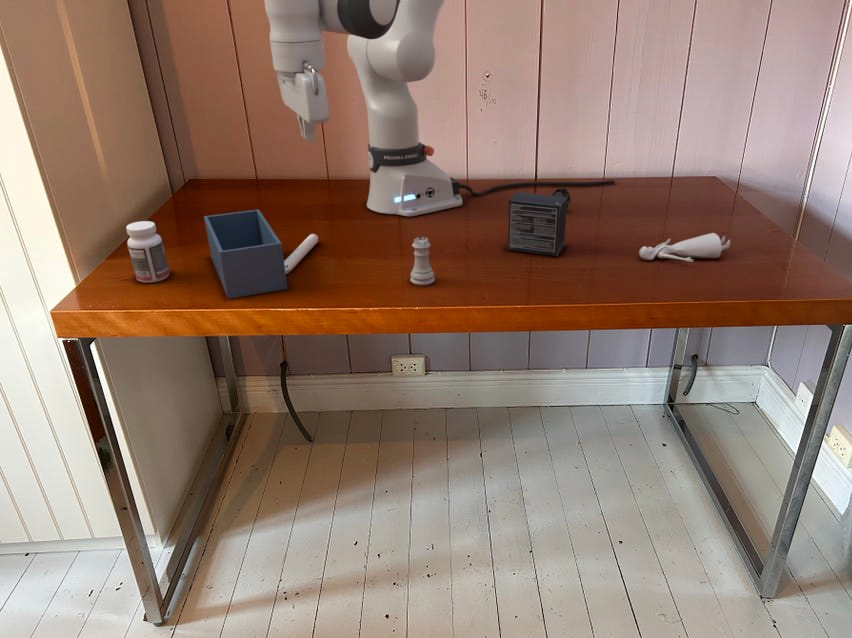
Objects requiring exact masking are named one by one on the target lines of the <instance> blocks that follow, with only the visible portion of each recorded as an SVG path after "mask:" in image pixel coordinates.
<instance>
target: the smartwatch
mask: <svg viewBox="0 0 852 638" xmlns="http://www.w3.org/2000/svg"><path fill="white" fill-rule="evenodd" d="M551 196H560V197H567V208H569V205H570V204H571V196H570V192H569V191H568V190H567V188H566V187H563V188H561V187H560V188H557V189H556V190H554V191H553V193H552V195H551Z"/></svg>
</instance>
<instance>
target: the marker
mask: <svg viewBox="0 0 852 638" xmlns="http://www.w3.org/2000/svg"><path fill="white" fill-rule="evenodd" d="M318 242H319V236H318V235H317V234H315V233H311V234H309V235H308V236H307V237H306V238H305V239H304V240H303V241H302V242H301V243H300V244H299V245H298V246H297V247H296V248H295V249H294V250H293V251H292V253H290V254H289V256H287V258H286V259H284V266H285V273H286V275H287V274H290V273H291V271H292V270H294V268H296V266H297V265H298V264H299V263H300V262H301V261H302V260H303V259H304V258H305V257H306V255H307V254H308V253H309V252H310V251H312V249H313V248H314V246H316V244H317V243H318Z"/></svg>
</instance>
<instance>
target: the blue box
mask: <svg viewBox="0 0 852 638" xmlns="http://www.w3.org/2000/svg"><path fill="white" fill-rule="evenodd" d="M203 219H204V224H205V230H206V235H207V241H208V245H209V252H210V257H211V260H212V263H213V265H214V267H215V270H216V272H217V276H218V278H219V280H220V282H221V285H222V288H223V290H224V292H225V295H226V297H227V299H234V298H241V297H246V296H253V295H258V294H259V295H260V294H266V293H270V292H277V291H282V290H288V281H287V274H286V273H285V266H284V261H285V259H284V252H283V246H282V242H281V241H280V240H279V237H278V236H277V235H276V233H275V232H274V230H273V228H272V227H271V226H270V224H269V222H268V221H267V220H266V218H265V217H264V215H263V213H262V211H261V210H260V209H253V210H245V211H236V212H235V211H234V212H229V213H220V214H219V213H218V214H213V215H205V216H203Z"/></svg>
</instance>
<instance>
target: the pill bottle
mask: <svg viewBox="0 0 852 638" xmlns="http://www.w3.org/2000/svg"><path fill="white" fill-rule="evenodd" d="M156 231H157V227H156V224H155V222H154V221H149V220H142V221H135V222H131V223H128V224H127V225H126V234H127V235H128V236H129V238H128V239H127V243H126V244H127V249H128V253H129V255H130V256H129V257H130V261H131V263H132V264H131V265H132V267H133V273H134V275H135V279H136V280H137V281H138V282H140V283H145V284H151V283H158V282H161V281H164V280H166V279H167V278H169V276H170V267H169V264H168V260H167V256H166V252H165V246H164V242H163V239H162V237H161V236H160V235H159V234H158V233H156Z"/></svg>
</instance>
